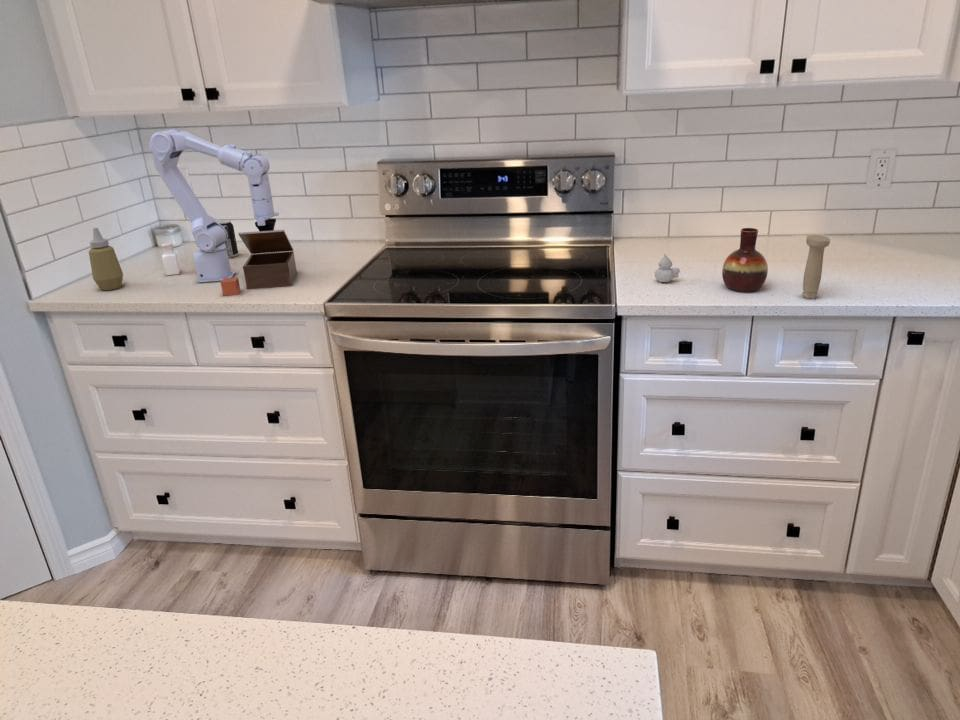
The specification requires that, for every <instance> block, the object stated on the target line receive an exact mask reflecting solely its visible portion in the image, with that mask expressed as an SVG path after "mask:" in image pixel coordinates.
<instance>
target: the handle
mask: <svg viewBox="0 0 960 720" xmlns="http://www.w3.org/2000/svg"><path fill="white" fill-rule="evenodd" d="M805 242H806V245H807V246H808V247H809V249H808V255H807V260H806V263H805V268H804V271H803V278H802V279H803V280H802V298H805V299H807V300H810V299H812V300H814V299H816V298H817V296H818V291H819V288H820V285H821V280H822V274H823V263H824V253H825V248H826V247H829V245H830V243H831V238H830V237H828V236H825V235H821V234H810V235H807V236H806V241H805Z"/></svg>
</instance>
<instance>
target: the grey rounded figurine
mask: <svg viewBox="0 0 960 720" xmlns="http://www.w3.org/2000/svg"><path fill="white" fill-rule="evenodd" d="M657 265H658V268H657V269H656V270H655V271H654V274H653V275H654V278H655V279H656V280H657V281H658V282H660V283H669V282H670V281H672V280H673V279H677V278H679V273H680V271H681V269H680V268H678V267H673V262H672V260H671V258H669V257H668V256H667V254H666V253H664V256H663V257H662V258H661V259H660V261H659V262H658V263H657Z"/></svg>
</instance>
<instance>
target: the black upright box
mask: <svg viewBox="0 0 960 720" xmlns="http://www.w3.org/2000/svg"><path fill="white" fill-rule="evenodd" d="M216 221H217V222H218V223H219V224H220V225H221V226H223V227H224V228H225V229H226V231H227V235H228V237H227V240H226V242H225V245H226V249H227V254H228V259H231V258H235V257H237V256H238V255H239V248H238V243H237V238H236V232H235V227H234V224H233V223H232V222H231V219H221V220H216Z"/></svg>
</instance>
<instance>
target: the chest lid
mask: <svg viewBox="0 0 960 720" xmlns="http://www.w3.org/2000/svg"><path fill="white" fill-rule="evenodd" d="M238 236H239V238H240V239H241V241H242V242H243V244H244V246H245V247H246V249H247V250H248V252H249V254H250V255H251V254H262V253H276V252H289V251H294V248H293V246H292V243H291V241H290V239H289V237H288V235H287V233H286V230H285V229H274V230H272V231H259V230H258V231H245V232H244V231H243V232H238Z"/></svg>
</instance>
